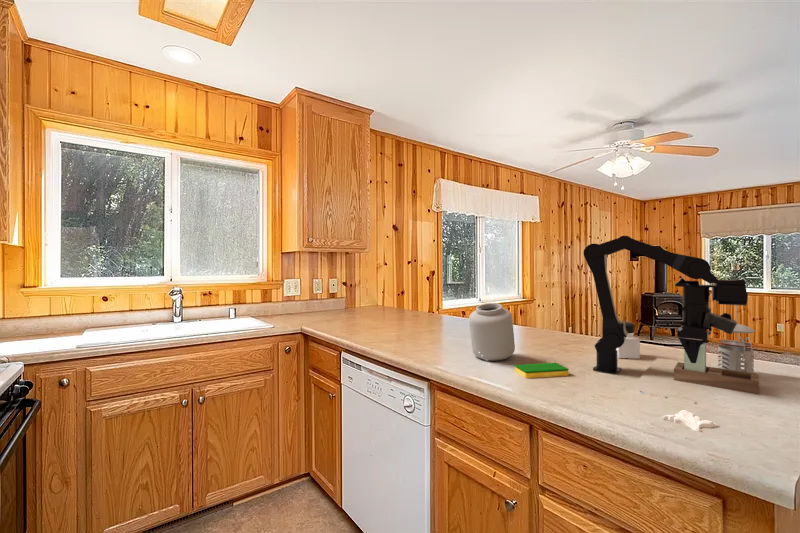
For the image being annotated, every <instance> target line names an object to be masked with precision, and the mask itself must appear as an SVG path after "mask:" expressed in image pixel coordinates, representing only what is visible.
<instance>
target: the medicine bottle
mask: <svg viewBox="0 0 800 533" xmlns="http://www.w3.org/2000/svg"><path fill="white" fill-rule="evenodd" d="M625 328H626V331H627V332H628V334H627V337H626V339H625V341H624V344H623V345H622V346H621V347H619V348H617V349H616V350H617V351H618V359H619V358H628V360H629V359H631V360H632V359H633V360H640V359H641V358H640V357H641V352H640V349H641V347H640V346H641V339H640V338H639V337H637V336H635V325H634V323H632V322H629V321H625Z"/></svg>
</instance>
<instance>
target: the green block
mask: <svg viewBox="0 0 800 533" xmlns="http://www.w3.org/2000/svg"><path fill="white" fill-rule="evenodd" d="M683 350H684V349H683ZM683 356H684V358H683V361H684V362H683V363H684V369H686V370H692V371H699V372H705V373H706V366H707V342H705V343H703V344H702V345H700V349H699V353H698V357H697V361H696V363H691V362H690V360H689V358H688V356H687V354H686V352H685V350H684V354H683Z"/></svg>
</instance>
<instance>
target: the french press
mask: <svg viewBox="0 0 800 533" xmlns="http://www.w3.org/2000/svg"><path fill="white" fill-rule="evenodd" d="M737 306H738V305H735V312H734V313H735V319H734V320H735V321H736V322H737V324H736V326H735V328H734V330H733V332H732V334H734V335H735V337H734V340H732V339H722V340H720V341H719V342H720V344H721V345H718V347H717V353H718V354H717V357H718V359H717V362H718V363H717V368H721V369H728V370H734V371H741V372H748V373H755V371H754V367H755V366H754V365H755V364H754V363H755V362H754V360H755V359H754V357H755V356H754V355H755V351H754V349H753V344H752V342H751V339H750V338H749V336H746V337H745V340H743V338H742V336H738V340H737V334H753V333H754V332H755V330H754V329H753V328H751V327H749V326H747V325H744V324H739V323H738V321H737V316H738V315H737V312H738V310H737ZM720 331H721V332H723V331H722V330H720ZM747 341H748V342H747Z"/></svg>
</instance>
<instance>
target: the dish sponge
mask: <svg viewBox="0 0 800 533" xmlns="http://www.w3.org/2000/svg"><path fill="white" fill-rule="evenodd" d="M514 366H515V367H514V372H516V373H517V374H519V375H520V376H521V377H524V378H525V379H533V378H536V379H537V378H549V377H564V376H566V377H567V376H568V377H569V370H570V369H569V368H568V367H566V366H563V365H562V364H559V363H557V362H542V363H541V362H540V363H527V364H526V363H525V364H524V363H523V364H516V365H515V364H514Z"/></svg>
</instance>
